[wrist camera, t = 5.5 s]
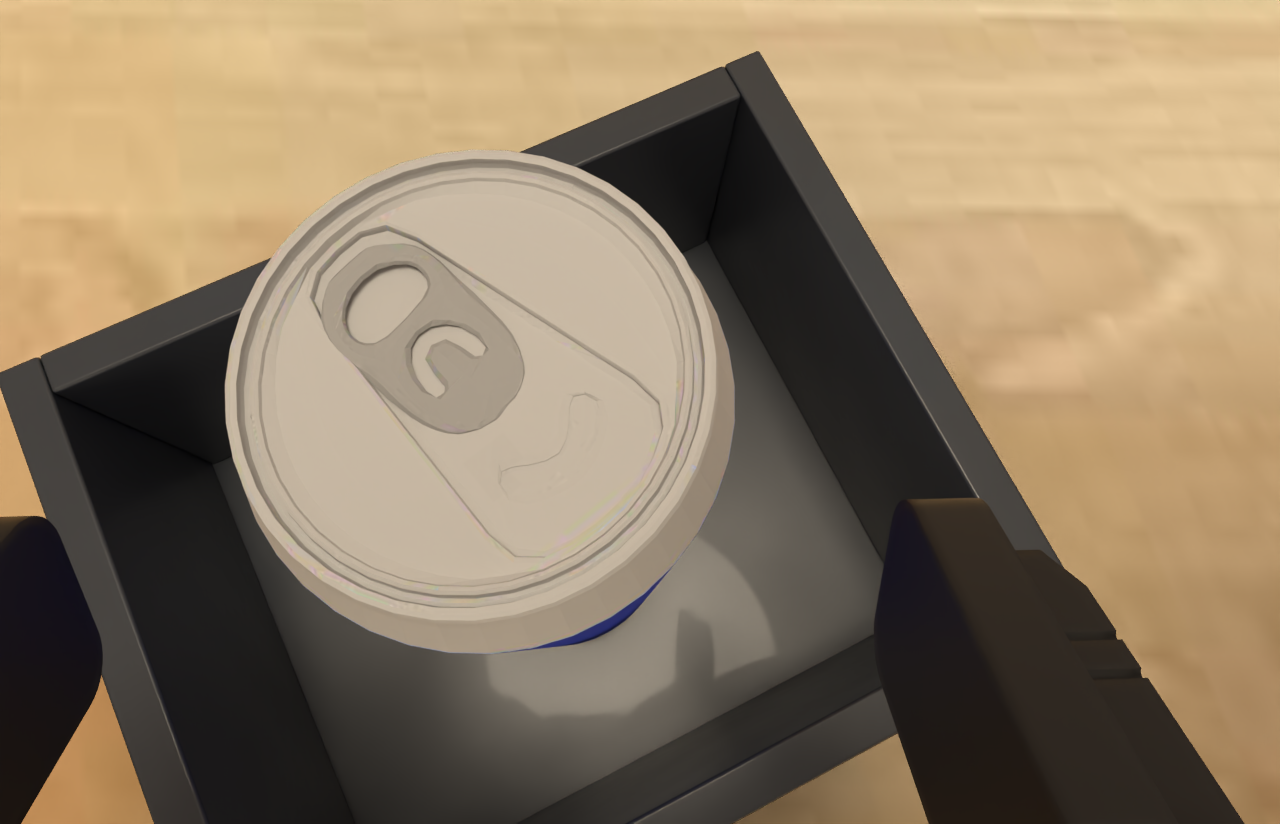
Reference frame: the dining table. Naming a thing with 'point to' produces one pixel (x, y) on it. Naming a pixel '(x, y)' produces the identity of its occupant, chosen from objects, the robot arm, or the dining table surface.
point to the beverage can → (480, 403)
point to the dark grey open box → (556, 676)
